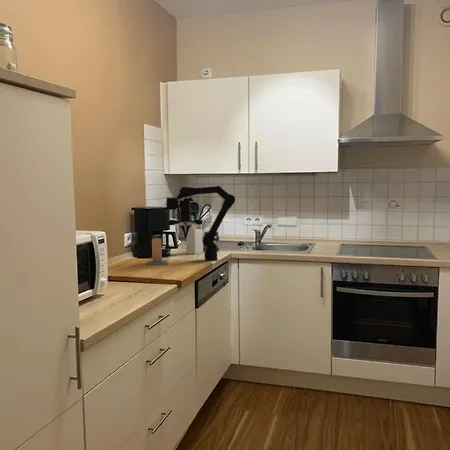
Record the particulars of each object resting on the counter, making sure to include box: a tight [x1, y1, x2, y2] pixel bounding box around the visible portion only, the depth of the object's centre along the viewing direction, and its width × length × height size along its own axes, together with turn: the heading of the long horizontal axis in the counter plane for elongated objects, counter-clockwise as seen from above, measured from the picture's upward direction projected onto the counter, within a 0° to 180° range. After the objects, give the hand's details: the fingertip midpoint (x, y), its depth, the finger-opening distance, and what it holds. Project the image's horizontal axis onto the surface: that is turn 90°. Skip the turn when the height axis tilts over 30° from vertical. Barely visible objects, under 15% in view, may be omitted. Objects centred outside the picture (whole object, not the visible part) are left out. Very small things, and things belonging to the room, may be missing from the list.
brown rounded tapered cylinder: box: [151, 237, 163, 263], centre depth 254 cm, size 5×5×12 cm
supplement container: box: [203, 231, 220, 252], centre depth 300 cm, size 10×10×12 cm
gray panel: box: [145, 259, 168, 266], centre depth 254 cm, size 11×11×1 cm
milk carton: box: [186, 223, 204, 255], centre depth 288 cm, size 7×7×19 cm
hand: (185, 237), depth 260 cm, fingers closed
